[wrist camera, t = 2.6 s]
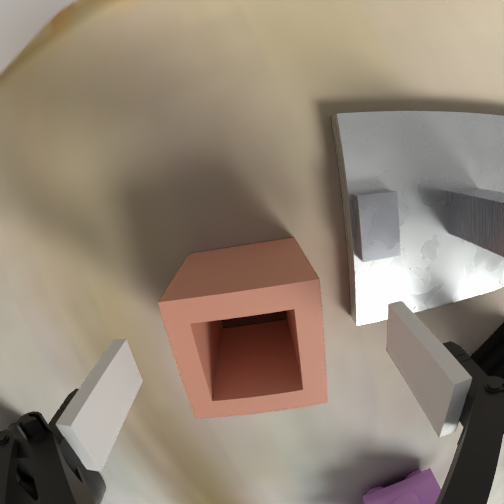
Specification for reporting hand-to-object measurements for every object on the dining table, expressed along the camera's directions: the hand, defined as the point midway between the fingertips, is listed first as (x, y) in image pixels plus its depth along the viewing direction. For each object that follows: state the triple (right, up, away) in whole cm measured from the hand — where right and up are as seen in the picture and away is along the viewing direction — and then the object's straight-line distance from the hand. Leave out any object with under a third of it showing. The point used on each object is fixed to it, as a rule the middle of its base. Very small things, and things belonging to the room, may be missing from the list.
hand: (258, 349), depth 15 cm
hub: (0, +2, +7) cm, 7 cm away
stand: (+15, +8, +6) cm, 18 cm away
